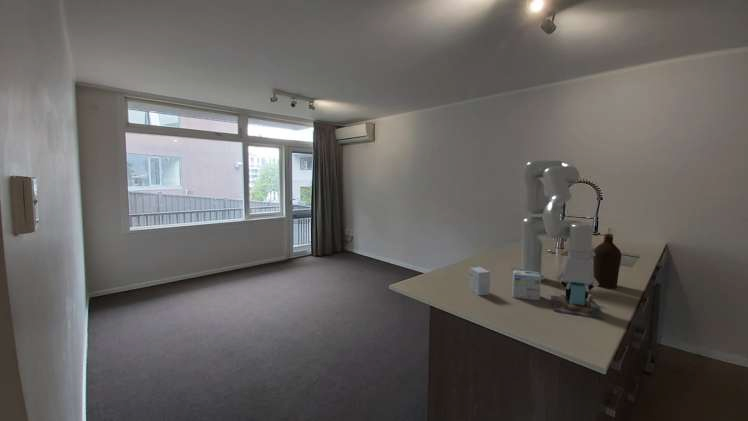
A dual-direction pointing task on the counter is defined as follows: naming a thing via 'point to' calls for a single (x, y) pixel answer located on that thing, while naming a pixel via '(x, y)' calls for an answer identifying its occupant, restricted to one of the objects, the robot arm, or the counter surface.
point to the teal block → (577, 293)
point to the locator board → (576, 307)
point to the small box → (479, 281)
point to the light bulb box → (526, 285)
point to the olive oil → (607, 263)
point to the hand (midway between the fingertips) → (576, 298)
